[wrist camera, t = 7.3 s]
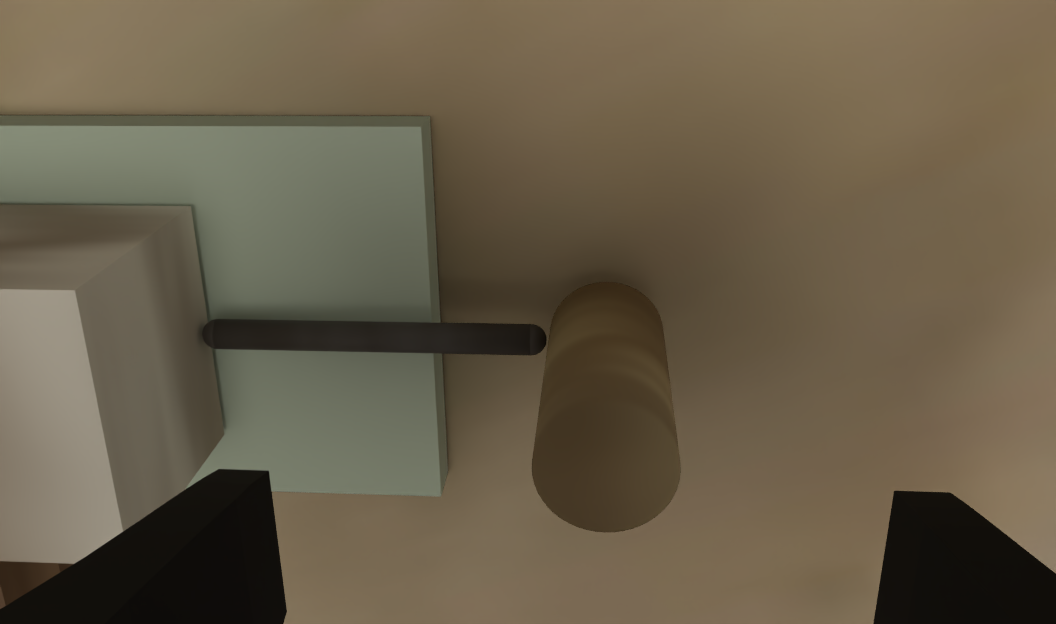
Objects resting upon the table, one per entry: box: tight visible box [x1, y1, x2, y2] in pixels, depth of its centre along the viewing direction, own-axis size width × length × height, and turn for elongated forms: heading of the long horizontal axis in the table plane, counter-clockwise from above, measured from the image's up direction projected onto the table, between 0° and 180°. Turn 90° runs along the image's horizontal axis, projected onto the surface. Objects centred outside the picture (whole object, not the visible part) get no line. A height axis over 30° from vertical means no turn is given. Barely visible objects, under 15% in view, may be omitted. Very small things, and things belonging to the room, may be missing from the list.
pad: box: [0, 115, 448, 496], centre depth 21 cm, size 9×8×1 cm
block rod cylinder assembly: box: [0, 204, 681, 564], centre depth 18 cm, size 15×5×5 cm, turn 91°
